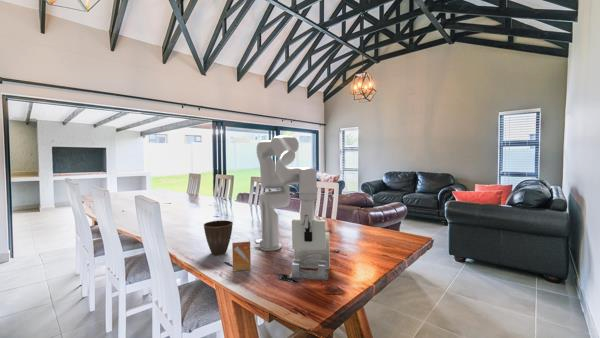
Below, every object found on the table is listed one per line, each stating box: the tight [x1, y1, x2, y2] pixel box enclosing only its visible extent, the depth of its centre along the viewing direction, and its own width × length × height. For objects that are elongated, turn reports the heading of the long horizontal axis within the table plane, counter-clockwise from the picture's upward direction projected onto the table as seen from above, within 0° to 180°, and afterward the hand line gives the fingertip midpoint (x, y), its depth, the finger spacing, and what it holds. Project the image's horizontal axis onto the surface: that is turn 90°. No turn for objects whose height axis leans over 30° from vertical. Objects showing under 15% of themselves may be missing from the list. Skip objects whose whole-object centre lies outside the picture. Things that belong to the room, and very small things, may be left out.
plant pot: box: [203, 220, 233, 256], centre depth 150 cm, size 15×15×16 cm
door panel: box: [291, 219, 327, 250], centre depth 119 cm, size 14×2×12 cm, turn 80°
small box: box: [231, 237, 252, 272], centre depth 129 cm, size 8×6×13 cm
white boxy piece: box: [288, 232, 331, 282], centre depth 122 cm, size 16×14×16 cm
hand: (308, 239), depth 119 cm, fingers closed on door panel, 2 cm apart
